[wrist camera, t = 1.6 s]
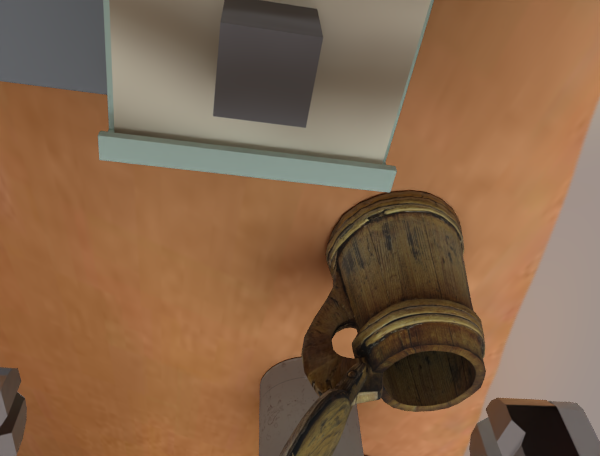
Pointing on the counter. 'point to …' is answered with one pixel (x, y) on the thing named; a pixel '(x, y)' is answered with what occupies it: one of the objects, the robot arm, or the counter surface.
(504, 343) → the counter surface
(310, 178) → the box
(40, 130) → the counter surface
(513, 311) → the counter surface
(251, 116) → the cover lid
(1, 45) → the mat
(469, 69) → the counter surface
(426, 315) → the wooden mug
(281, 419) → the thermos bottle
